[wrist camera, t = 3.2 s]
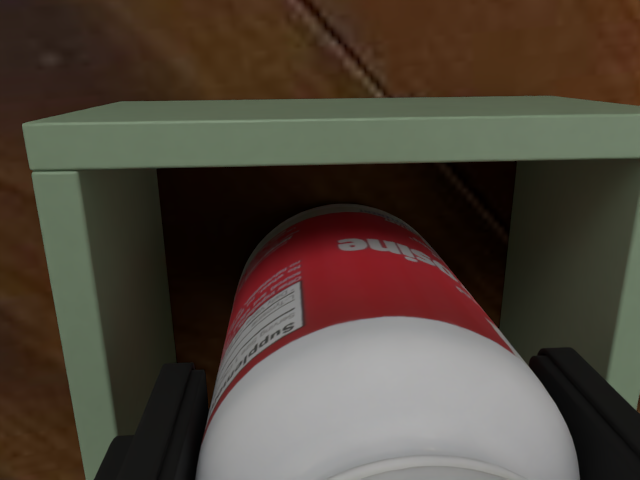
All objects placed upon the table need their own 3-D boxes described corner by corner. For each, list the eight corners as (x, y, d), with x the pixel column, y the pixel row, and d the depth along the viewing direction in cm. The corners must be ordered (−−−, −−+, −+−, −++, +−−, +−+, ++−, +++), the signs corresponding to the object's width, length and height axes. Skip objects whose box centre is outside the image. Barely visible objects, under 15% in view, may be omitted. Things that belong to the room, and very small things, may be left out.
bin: (118, 101, 14) (19, 123, 9) (551, 95, 15) (699, 112, 9) (163, 465, 18) (111, 634, 12) (508, 447, 18) (598, 600, 13)
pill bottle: (482, 288, 16) (839, 691, 6) (344, 419, 17) (435, 953, 7) (334, 152, 15) (456, 367, 4) (193, 306, 16) (17, 774, 5)
